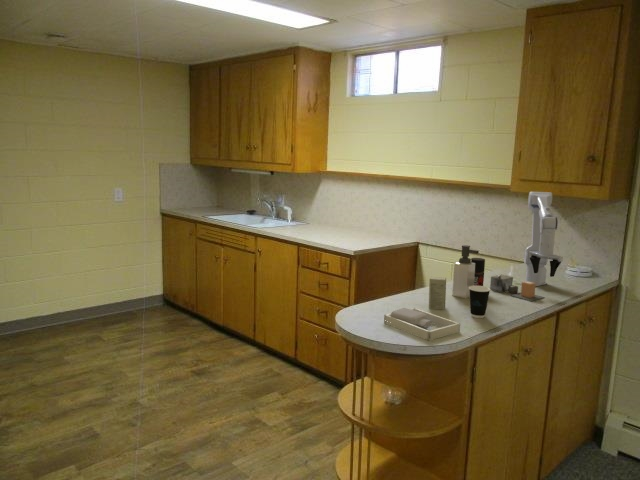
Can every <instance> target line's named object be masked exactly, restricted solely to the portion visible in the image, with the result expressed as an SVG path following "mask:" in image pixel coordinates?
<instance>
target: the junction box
mask: <svg viewBox="0 0 640 480" xmlns="http://www.w3.org/2000/svg"><path fill="white" fill-rule="evenodd" d="M513 280H514V277H513V276H509V275H506V274H498V275H492V276H490V282H489V283H490V286H489V288H490V289H491V290H490V291H494V292H498V293H501V294H502V293H506V292H508V289H509V285H513V284H514V283H513V282H514V281H513Z"/></svg>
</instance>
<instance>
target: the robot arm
mask: <svg viewBox="0 0 640 480" xmlns="http://www.w3.org/2000/svg"><path fill="white" fill-rule="evenodd" d="M552 203H553V193H552V192H551V191H549V192H547V191H532V190H531V191H530V192H528V199H527V207H528V208H527V209H528V210H529V211H531V214H532V221H531V222H532V223H531V225H532V226H531V245H529V246H527V247H526V248H525V249H524V254H523V262H524V264H525V265H526V270H525V271H526V273H525V280H523V282H526V281H528V282H533V283H536V285H535V287H539V286H543V285H547V284H548V282H546V280H547V268H546V265H548V261H549V266H550V268H549V269H550V273H549V275H550V276H549V277H553V278H554V277H555V276H556V275H555V274H556V272H557V270H558V268H559V266H560V265H561V263H562V262H563V260H564V259H563V258H564V256H561V255H557V254H554V246H555V236H556V231H557V229H558V223H559V219H558V216H555V214H554V211H553V209H552V208H551V205H552Z"/></svg>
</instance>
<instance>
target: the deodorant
mask: <svg viewBox="0 0 640 480" xmlns="http://www.w3.org/2000/svg"><path fill="white" fill-rule="evenodd" d="M470 259H471V262H472V263H475V275H474V286H484V280H485V267H486V259H485V258H482V257H471V258H470Z"/></svg>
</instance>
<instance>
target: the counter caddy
mask: <svg viewBox="0 0 640 480" xmlns="http://www.w3.org/2000/svg"><path fill="white" fill-rule="evenodd" d="M410 309H411V310H414V311H418V312H422V313H425V314H426V320H430V321H432V322H433V323H432V324H435V325H438V326H440V327H438V328H434V329H432V330H428V329H427V328H424V327H418V326H415V325H412V324H410V323H407V322H404V321H402V320H399V319H396V318H394V317H391V313H392V312H391V313H387V314H384V315H383V324H386V325H389V326H391V327H394V328H396V329H399V330H401V331H404V332H406V333H409V334H411V335H414V336H417V337H419V338H420V339H424V340H427V341H428V342H429V341H432V340H436V339H439V338H442V337H446V336H451V335H453V334H457V333H460V332H461V323H459V322H456V321H454V320H450V319H448V318H445V317H442V316H439V315H437V314H434V313H430V312H427V311H425V310H422V309H419V308H416V307H414V308H413V307H412V308H410ZM385 320H386V321H385ZM387 321H388V322H387ZM390 322H391V323H390Z"/></svg>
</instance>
